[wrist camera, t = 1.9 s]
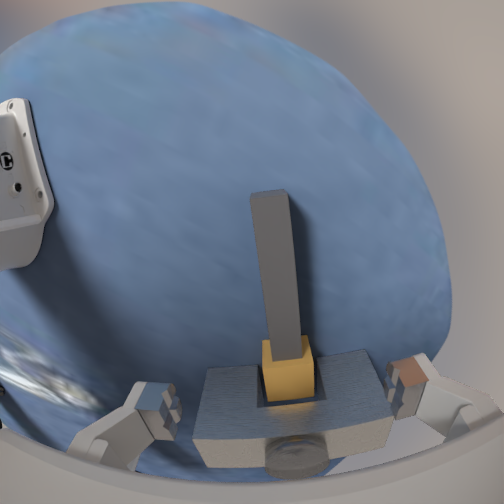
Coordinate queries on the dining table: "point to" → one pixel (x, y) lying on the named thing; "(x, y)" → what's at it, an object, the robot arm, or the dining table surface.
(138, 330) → the dining table surface
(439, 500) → the robot arm
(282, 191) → the grey and tan bar
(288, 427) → the grey bridge block
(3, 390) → the coffee press
